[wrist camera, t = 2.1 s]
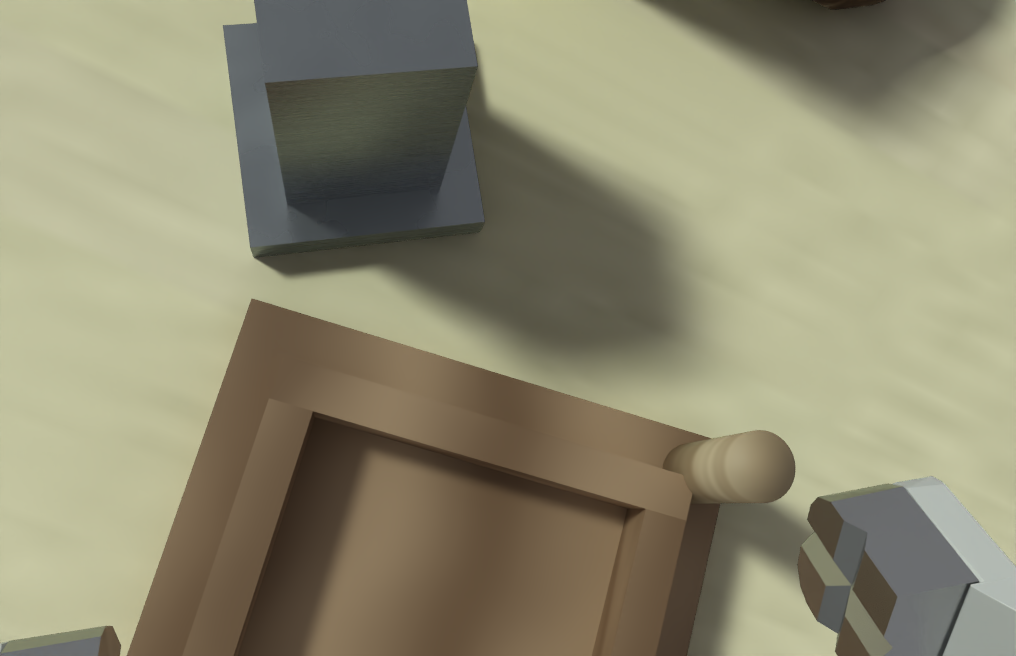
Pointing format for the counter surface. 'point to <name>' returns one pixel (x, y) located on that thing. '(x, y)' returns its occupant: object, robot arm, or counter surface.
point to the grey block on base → (354, 122)
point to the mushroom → (846, 3)
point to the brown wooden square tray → (435, 510)
